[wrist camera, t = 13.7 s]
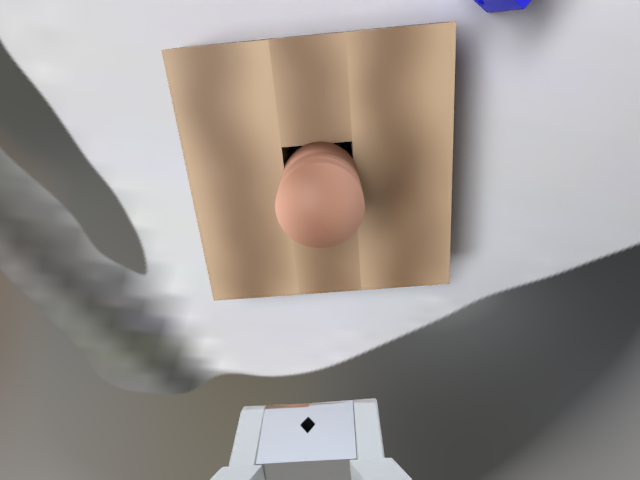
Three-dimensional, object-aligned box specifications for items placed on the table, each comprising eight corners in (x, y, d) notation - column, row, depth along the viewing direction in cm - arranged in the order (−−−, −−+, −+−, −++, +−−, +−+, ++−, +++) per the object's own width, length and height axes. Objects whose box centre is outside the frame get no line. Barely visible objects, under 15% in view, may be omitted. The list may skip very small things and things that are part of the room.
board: (439, 22, 29) (456, 21, 25) (436, 257, 35) (449, 283, 32) (181, 47, 30) (161, 50, 26) (225, 272, 36) (213, 300, 32)
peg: (353, 126, 31) (362, 159, 23) (357, 193, 33) (366, 244, 25) (283, 132, 31) (269, 167, 24) (291, 198, 33) (280, 251, 25)
